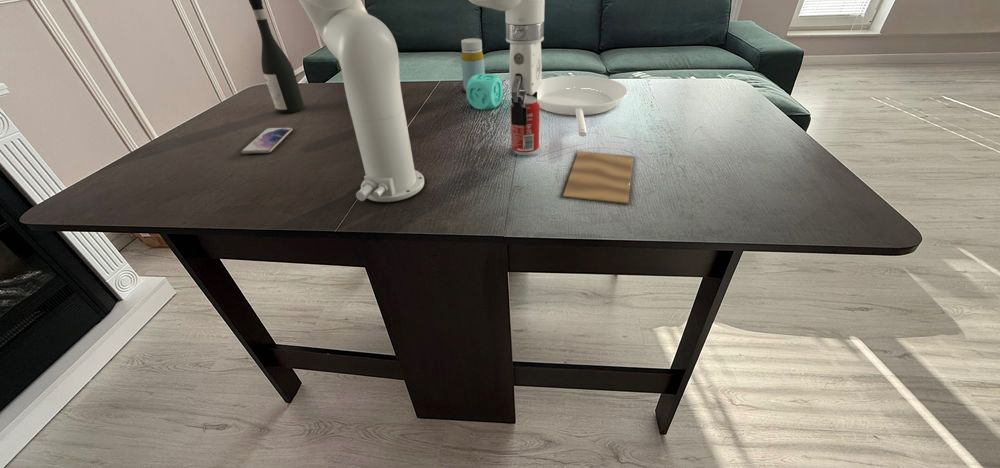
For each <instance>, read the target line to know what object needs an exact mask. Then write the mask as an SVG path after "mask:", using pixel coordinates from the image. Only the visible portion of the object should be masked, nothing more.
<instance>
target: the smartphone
mask: <svg viewBox="0 0 1000 468" xmlns="http://www.w3.org/2000/svg"><path fill="white" fill-rule="evenodd" d="M292 131H293V127H290V126H289V127H267V128H265V129H264V130H263V131H262V132H260V133H259V135H257V137H255V138H254V139H253V140H252V141H250V143H249V144H247V145H246V146H245V147H244V148H242V150H241V153H242V154H244V155H251V154H269V153H271V152H272V151H274V150H275V148H277V147H278V145H279V144H281V143H282V142H283V140H284V139H285V138H286V137H288V136H289V134H290V133H292Z"/></svg>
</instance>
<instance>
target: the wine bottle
mask: <svg viewBox="0 0 1000 468" xmlns="http://www.w3.org/2000/svg"><path fill="white" fill-rule="evenodd" d="M248 3H249V5H250V6H251V9H252V12H253V15H254V18H255V21H256V23H257V27H258V30H259V33H260V37H261V59H260V61H261V63H260V64H261V70H262V74H263V77H264V79H265V82H266V85H267V88H268V91H269V94H270V97H271V100H272V103H273V106H274V108H275V111H276V112H278V113H280V114H293V113H297V112H299V111H302V110H303V108H305V104H304V103H305V102H304V100H303V97H302V93H301V90H300V87H299V83H298V80H297V77H296V73H295V70H294V68H293V66H292V63H291V62H290V60H289V58H288V56H287V55H286V53H285V52H284V51H283V50H282V48H281V47H280V45H279V44H278V43H277V41H276V39H275V38H274V36H273V33H272V31H271V28H270V24H269V22H268V18H267V15H266V12H265V9H264V5H263V0H248Z"/></svg>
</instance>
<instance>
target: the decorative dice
mask: <svg viewBox="0 0 1000 468" xmlns="http://www.w3.org/2000/svg"><path fill="white" fill-rule="evenodd" d="M465 92H466V99H467V101H468V103H469V104H470V106H472V108H474V109H476V110H481V111H483V110H485V111H487V110H493V109H497V107H498V106H500V105H501V102H502V100H503V96H504V84H503V82H502V80H501V79H500V77H499V76H498V75H497V74H494V73H485V74H478V75H474V76H472V77H471V78H470V79H469V81H468V84H467V89H466V91H465Z"/></svg>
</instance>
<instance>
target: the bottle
mask: <svg viewBox="0 0 1000 468" xmlns="http://www.w3.org/2000/svg"><path fill="white" fill-rule="evenodd" d="M460 44H461V56H460V58H461V60H460V61H461V72H462V83H463V90H464V92H466V89H467V84H468V81H469V79H470V78H471V77H472V76H474V75H478V74H486V73H485V72H486V70H485V68H486V67H485V55H484V53H483V41H482V39H481V38H476V37H472V38H471V37H470V38H464V39H461V41H460Z"/></svg>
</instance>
